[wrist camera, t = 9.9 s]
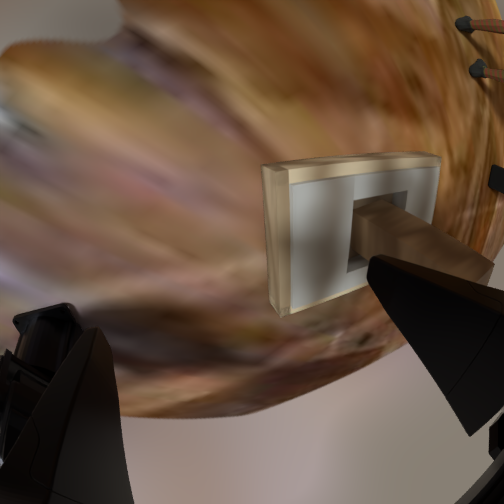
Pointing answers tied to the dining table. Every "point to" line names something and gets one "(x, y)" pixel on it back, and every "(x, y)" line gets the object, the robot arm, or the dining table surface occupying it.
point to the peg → (414, 242)
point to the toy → (484, 25)
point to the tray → (280, 208)
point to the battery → (497, 178)
